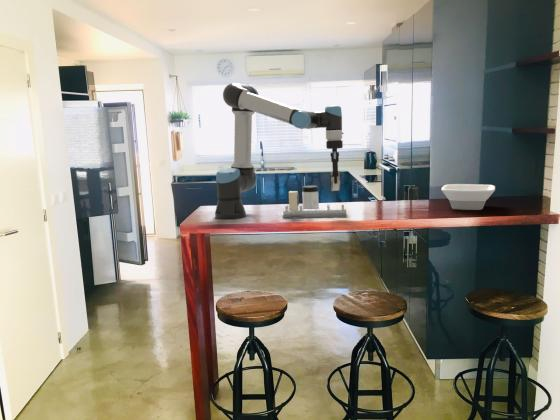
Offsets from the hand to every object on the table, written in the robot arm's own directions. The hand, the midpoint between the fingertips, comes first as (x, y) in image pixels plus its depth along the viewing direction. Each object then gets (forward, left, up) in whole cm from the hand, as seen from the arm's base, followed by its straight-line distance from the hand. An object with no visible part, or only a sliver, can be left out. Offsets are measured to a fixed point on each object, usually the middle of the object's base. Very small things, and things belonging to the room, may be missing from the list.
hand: (335, 189), depth 218 cm
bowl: (+65, +17, -13) cm, 68 cm away
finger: (0, 0, 0) cm, 0 cm away
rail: (-10, 0, -12) cm, 16 cm away
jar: (-13, +21, -13) cm, 28 cm away
